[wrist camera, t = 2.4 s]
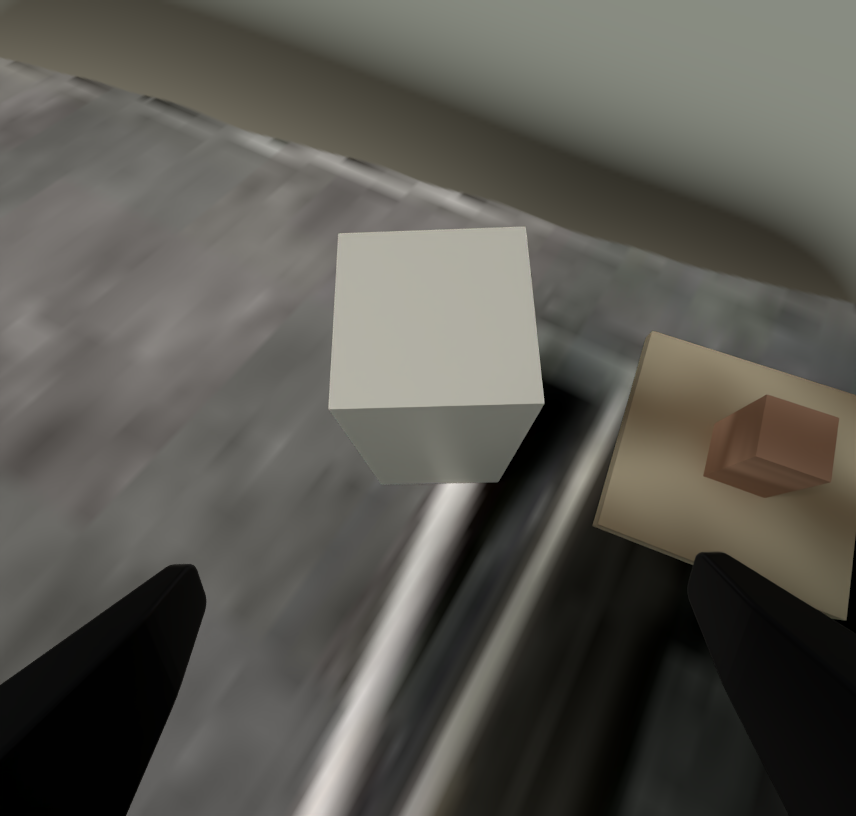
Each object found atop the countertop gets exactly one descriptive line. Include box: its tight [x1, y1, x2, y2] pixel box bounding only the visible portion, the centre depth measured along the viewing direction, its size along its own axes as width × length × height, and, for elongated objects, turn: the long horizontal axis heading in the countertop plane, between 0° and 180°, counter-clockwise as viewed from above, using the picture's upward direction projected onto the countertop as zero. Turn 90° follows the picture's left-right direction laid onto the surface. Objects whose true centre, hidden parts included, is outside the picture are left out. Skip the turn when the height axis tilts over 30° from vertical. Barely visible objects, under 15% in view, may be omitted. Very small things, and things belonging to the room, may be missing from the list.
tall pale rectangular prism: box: [329, 227, 545, 485], centre depth 18 cm, size 5×5×11 cm
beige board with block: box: [593, 331, 856, 620], centre depth 19 cm, size 10×10×4 cm
